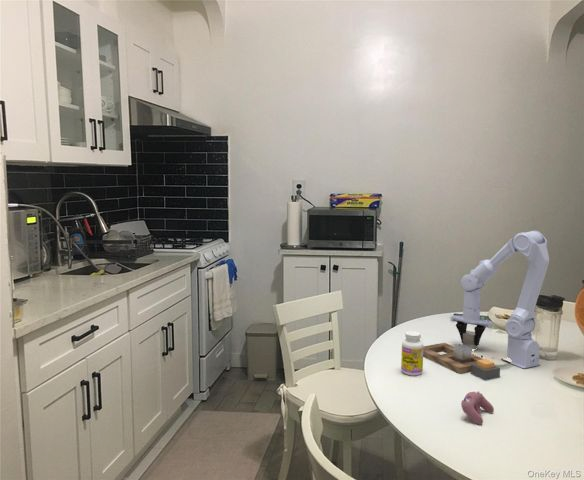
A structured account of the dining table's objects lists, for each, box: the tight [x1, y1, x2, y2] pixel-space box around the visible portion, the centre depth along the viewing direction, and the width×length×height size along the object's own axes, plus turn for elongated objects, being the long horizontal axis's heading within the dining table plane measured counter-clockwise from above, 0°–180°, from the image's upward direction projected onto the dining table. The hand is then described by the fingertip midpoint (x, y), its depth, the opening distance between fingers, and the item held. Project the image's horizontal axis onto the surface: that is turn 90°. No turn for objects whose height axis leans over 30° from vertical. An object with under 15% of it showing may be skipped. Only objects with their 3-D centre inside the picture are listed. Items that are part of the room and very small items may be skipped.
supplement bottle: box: [400, 330, 424, 377], centre depth 161 cm, size 7×7×13 cm
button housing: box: [470, 363, 501, 381], centre depth 159 cm, size 6×6×3 cm
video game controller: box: [460, 391, 495, 426], centre depth 132 cm, size 10×5×7 cm, turn 141°
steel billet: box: [462, 330, 479, 349], centre depth 184 cm, size 4×4×6 cm
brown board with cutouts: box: [423, 342, 484, 375], centre depth 173 cm, size 22×13×2 cm, turn 25°
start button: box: [477, 358, 495, 369], centre depth 159 cm, size 4×4×3 cm
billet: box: [453, 344, 473, 364], centre depth 168 cm, size 4×4×6 cm
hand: (470, 343), depth 184 cm, fingers open, 4 cm apart
